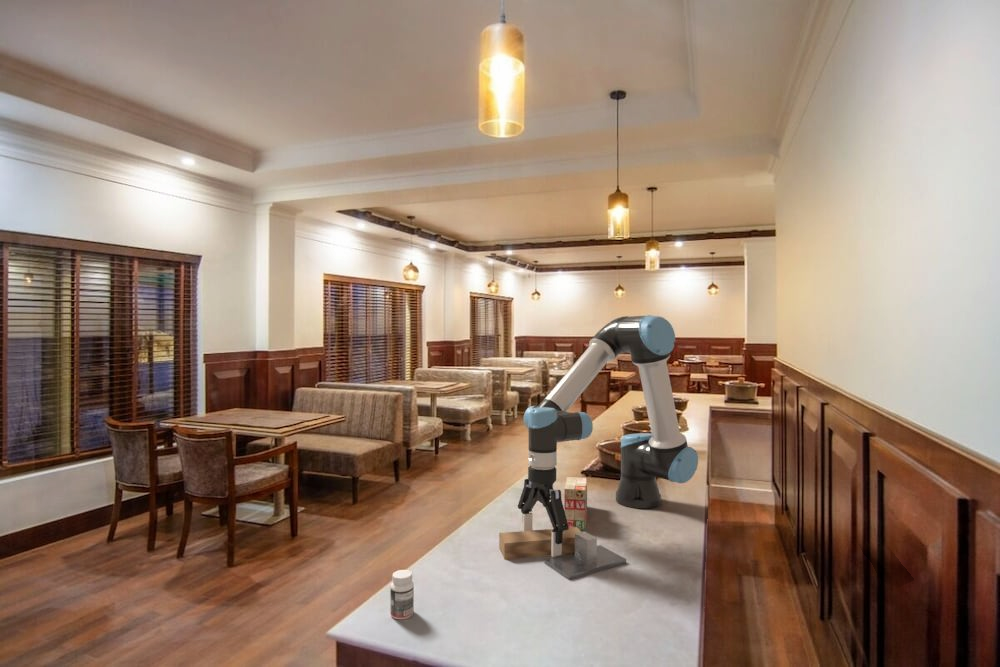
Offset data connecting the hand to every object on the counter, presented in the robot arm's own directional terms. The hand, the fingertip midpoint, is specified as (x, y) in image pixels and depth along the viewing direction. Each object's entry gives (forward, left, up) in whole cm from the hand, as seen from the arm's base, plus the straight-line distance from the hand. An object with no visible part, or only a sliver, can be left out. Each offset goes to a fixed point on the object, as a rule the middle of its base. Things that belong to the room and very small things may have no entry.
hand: (541, 546), depth 141 cm
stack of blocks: (-24, -15, -2) cm, 28 cm away
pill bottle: (+43, +12, -1) cm, 44 cm away
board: (0, 0, -2) cm, 2 cm away
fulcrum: (-5, +12, -1) cm, 13 cm away
